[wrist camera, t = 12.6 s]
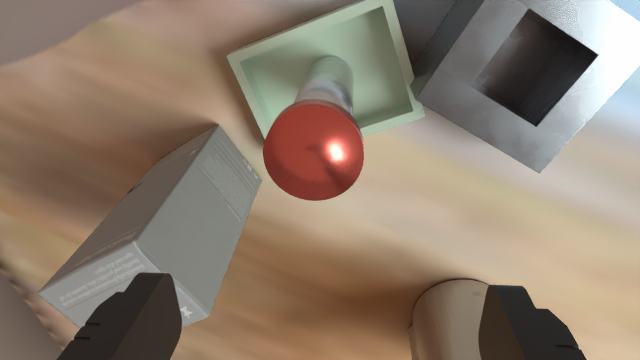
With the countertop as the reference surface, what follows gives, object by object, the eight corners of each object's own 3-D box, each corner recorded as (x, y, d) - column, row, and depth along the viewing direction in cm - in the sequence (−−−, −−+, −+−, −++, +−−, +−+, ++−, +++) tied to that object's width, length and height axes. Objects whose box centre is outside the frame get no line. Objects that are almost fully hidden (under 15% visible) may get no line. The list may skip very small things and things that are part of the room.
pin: (340, 119, 33) (331, 216, 21) (289, 90, 33) (246, 171, 20) (371, 68, 31) (383, 140, 19) (318, 36, 31) (291, 88, 18)
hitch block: (510, 140, 34) (539, 173, 28) (405, 77, 32) (415, 99, 27) (608, 25, 29) (663, 39, 24) (492, -54, 28) (525, -59, 22)
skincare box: (220, 120, 35) (128, 225, 21) (269, 186, 37) (216, 320, 23) (146, 166, 37) (19, 287, 23) (197, 225, 40) (110, 367, 26)
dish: (281, 152, 36) (276, 164, 33) (235, 49, 32) (226, 55, 30) (420, 106, 33) (425, 116, 31) (387, -12, 29) (390, -10, 27)
